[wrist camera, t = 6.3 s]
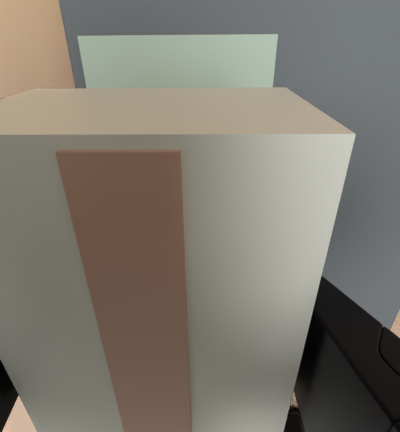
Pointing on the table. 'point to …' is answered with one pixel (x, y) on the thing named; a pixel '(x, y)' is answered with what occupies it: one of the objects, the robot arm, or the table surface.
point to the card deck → (162, 253)
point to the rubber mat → (277, 77)
